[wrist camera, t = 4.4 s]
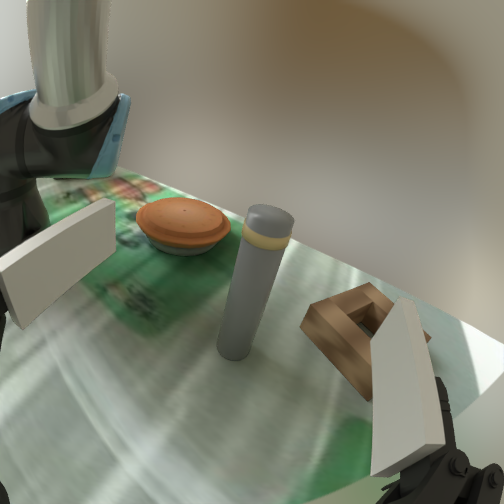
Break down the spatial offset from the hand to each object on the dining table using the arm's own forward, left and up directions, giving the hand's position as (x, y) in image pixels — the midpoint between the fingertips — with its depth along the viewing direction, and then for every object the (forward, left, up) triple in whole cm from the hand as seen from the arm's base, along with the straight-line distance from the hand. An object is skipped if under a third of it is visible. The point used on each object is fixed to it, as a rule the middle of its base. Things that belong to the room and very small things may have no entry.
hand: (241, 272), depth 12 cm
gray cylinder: (-7, +8, -18) cm, 21 cm away
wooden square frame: (0, +24, -18) cm, 29 cm away
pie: (-30, +11, -18) cm, 37 cm away
